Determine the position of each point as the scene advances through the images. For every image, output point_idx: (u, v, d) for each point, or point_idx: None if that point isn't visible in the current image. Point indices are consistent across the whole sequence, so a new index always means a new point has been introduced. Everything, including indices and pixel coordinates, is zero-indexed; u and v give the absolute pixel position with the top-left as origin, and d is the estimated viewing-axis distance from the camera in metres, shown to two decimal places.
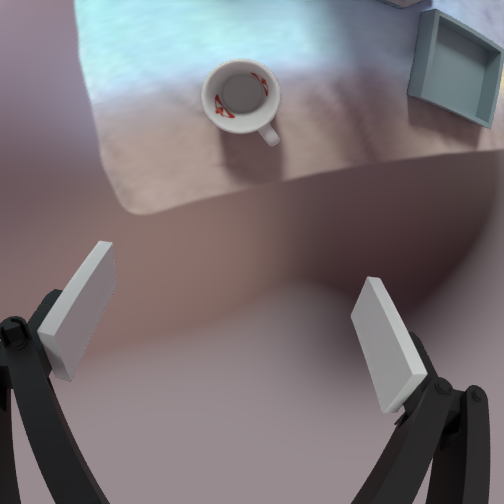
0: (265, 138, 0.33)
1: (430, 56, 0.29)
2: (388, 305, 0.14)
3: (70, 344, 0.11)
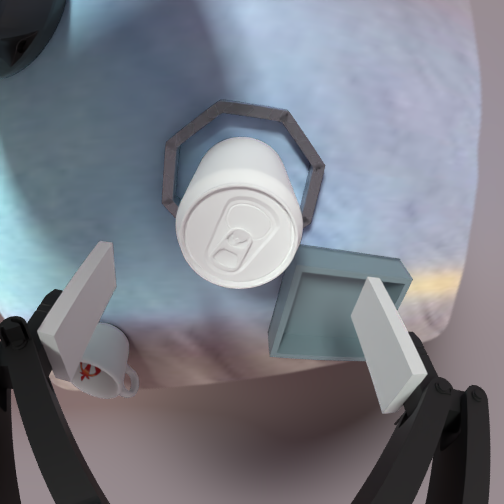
0: (122, 396, 0.37)
1: (282, 321, 0.33)
2: (388, 305, 0.14)
3: (70, 344, 0.11)
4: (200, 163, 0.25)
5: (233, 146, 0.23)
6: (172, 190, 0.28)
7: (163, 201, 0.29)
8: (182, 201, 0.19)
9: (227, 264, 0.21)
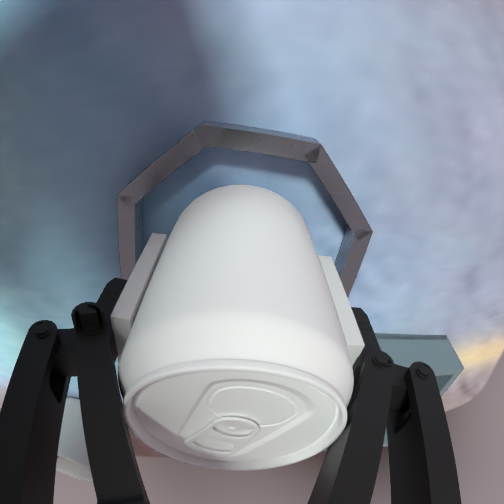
0: None
1: None
2: (334, 281, 0.15)
3: None
4: (169, 238, 0.15)
5: (224, 214, 0.13)
6: (134, 266, 0.18)
7: None
8: (122, 360, 0.09)
9: (216, 447, 0.10)
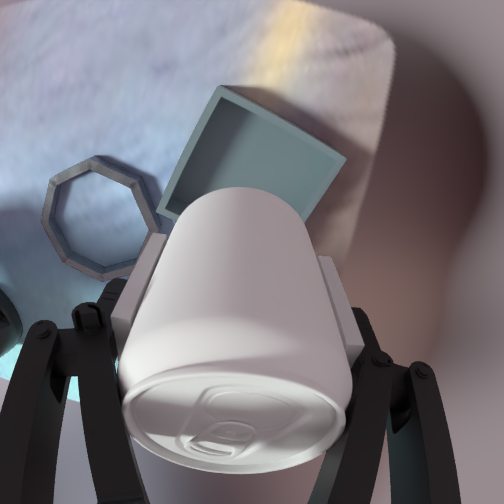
0: None
1: None
2: (334, 281, 0.15)
3: None
4: (167, 243, 0.15)
5: (220, 218, 0.13)
6: (94, 271, 0.36)
7: (101, 280, 0.36)
8: (120, 367, 0.09)
9: (216, 450, 0.10)
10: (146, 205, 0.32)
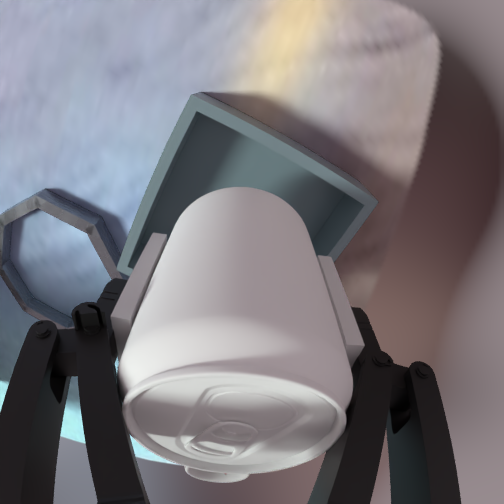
0: None
1: None
2: (334, 281, 0.15)
3: None
4: (167, 243, 0.15)
5: (221, 218, 0.13)
6: (58, 324, 0.28)
7: None
8: (120, 367, 0.09)
9: (217, 451, 0.10)
10: (108, 255, 0.24)
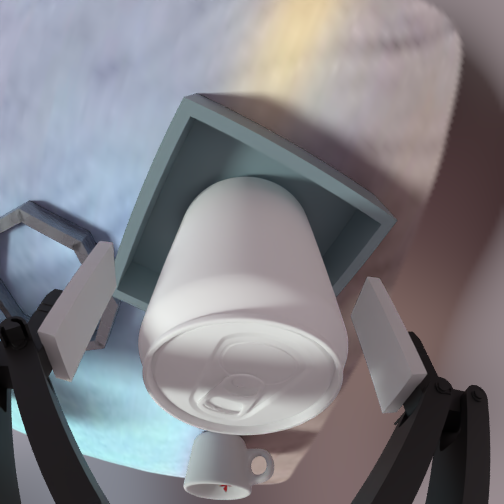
0: None
1: None
2: (388, 305, 0.14)
3: (70, 344, 0.11)
4: (181, 225, 0.16)
5: (231, 201, 0.15)
6: None
7: None
8: (143, 325, 0.11)
9: (226, 410, 0.12)
10: None
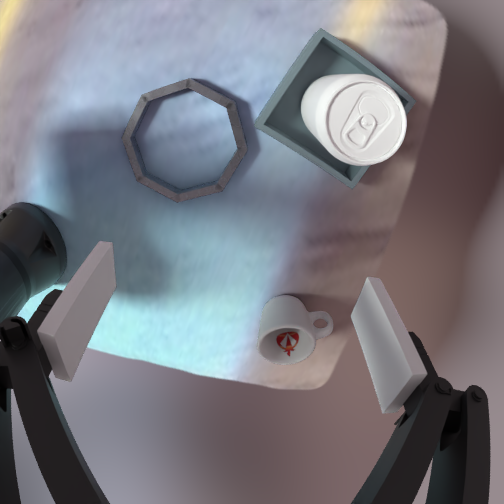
0: (324, 336, 0.43)
1: (312, 160, 0.33)
2: (388, 305, 0.14)
3: (70, 344, 0.11)
4: (314, 85, 0.29)
5: None
6: (170, 191, 0.38)
7: (176, 200, 0.39)
8: (325, 92, 0.23)
9: (355, 144, 0.24)
10: (239, 125, 0.34)
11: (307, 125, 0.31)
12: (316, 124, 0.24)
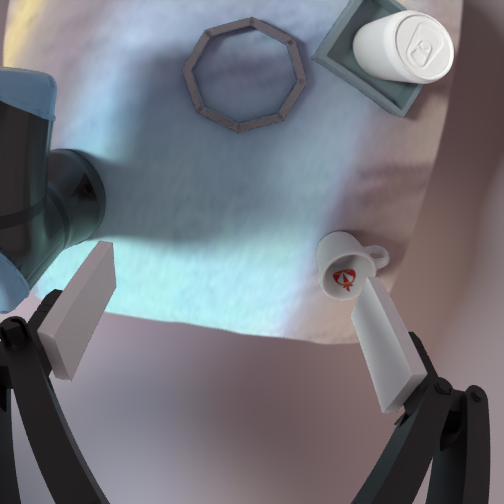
0: (382, 267, 0.42)
1: (369, 89, 0.33)
2: (388, 305, 0.14)
3: (70, 344, 0.11)
4: (367, 25, 0.28)
5: None
6: (231, 121, 0.37)
7: (236, 131, 0.38)
8: (390, 20, 0.22)
9: (417, 62, 0.24)
10: (299, 59, 0.33)
11: (363, 58, 0.31)
12: (385, 45, 0.24)
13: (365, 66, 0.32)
